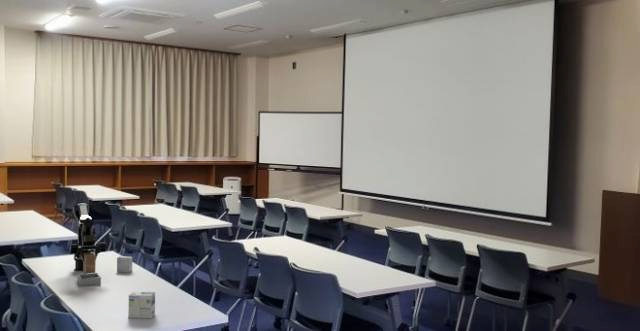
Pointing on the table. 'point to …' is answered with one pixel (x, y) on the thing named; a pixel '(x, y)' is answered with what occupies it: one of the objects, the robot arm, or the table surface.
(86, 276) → the grey square tray
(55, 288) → the table surface
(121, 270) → the medicine box
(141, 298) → the light bulb box
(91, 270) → the small crate
